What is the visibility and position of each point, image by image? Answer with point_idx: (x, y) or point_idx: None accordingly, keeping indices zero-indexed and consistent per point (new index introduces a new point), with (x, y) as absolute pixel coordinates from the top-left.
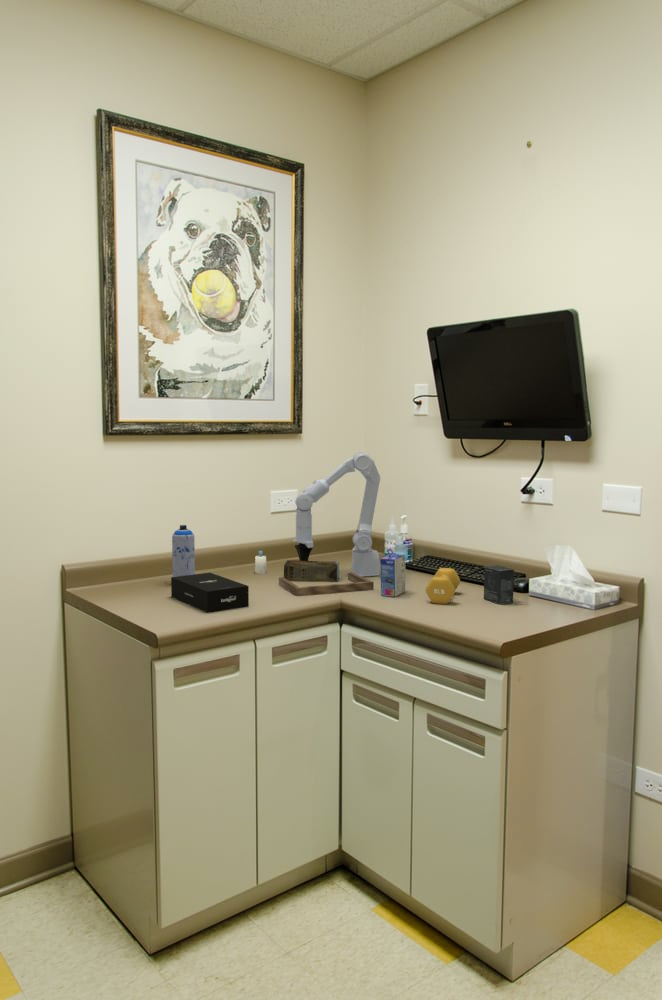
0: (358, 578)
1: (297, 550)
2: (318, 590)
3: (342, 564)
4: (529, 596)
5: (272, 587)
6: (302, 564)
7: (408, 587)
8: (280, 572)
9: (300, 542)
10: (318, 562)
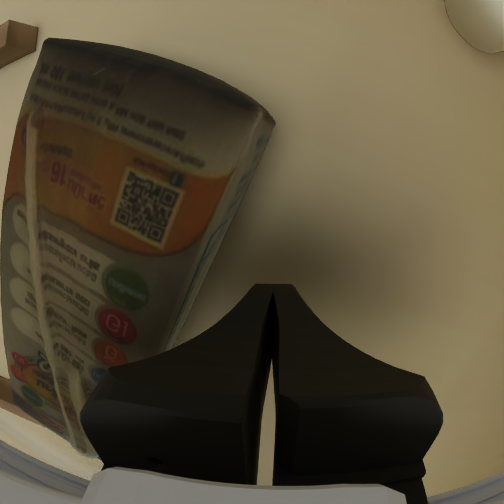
0: (9, 399)
1: (320, 359)
2: None
3: (425, 474)
4: None
5: (12, 3)
6: (12, 225)
7: (19, 444)
8: (451, 138)
9: (20, 487)
10: (54, 372)
